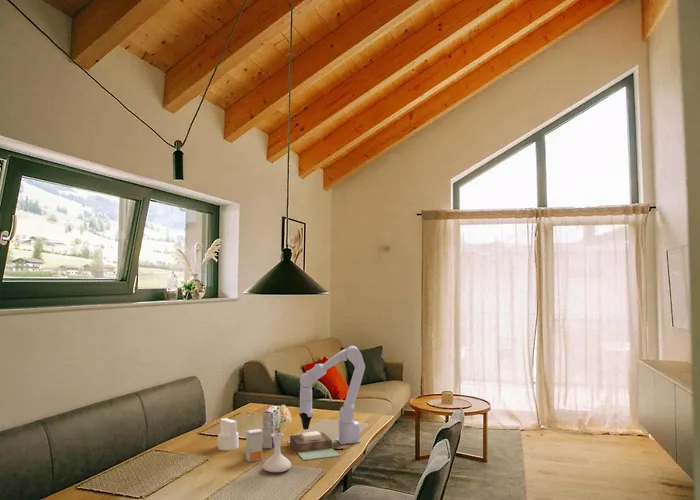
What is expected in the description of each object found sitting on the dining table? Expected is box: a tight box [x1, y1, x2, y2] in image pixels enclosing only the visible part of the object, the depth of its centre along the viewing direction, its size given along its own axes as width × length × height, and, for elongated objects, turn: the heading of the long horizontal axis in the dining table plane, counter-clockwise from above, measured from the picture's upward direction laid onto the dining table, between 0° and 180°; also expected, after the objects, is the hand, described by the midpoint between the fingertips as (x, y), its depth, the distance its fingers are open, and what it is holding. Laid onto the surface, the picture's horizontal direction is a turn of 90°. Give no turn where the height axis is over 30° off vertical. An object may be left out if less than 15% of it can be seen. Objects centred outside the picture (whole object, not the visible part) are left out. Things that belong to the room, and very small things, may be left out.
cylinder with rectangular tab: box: [217, 417, 239, 451], centre depth 240 cm, size 9×9×12 cm
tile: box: [300, 430, 321, 441], centre depth 239 cm, size 8×6×2 cm
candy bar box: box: [262, 405, 281, 450], centre depth 243 cm, size 11×5×16 cm, turn 168°
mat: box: [296, 447, 341, 462], centre depth 229 cm, size 16×10×1 cm, turn 110°
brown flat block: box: [289, 431, 333, 453], centre depth 240 cm, size 16×13×4 cm
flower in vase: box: [262, 404, 293, 473], centre depth 212 cm, size 13×11×25 cm
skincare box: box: [245, 428, 263, 463], centre depth 223 cm, size 6×4×12 cm
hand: (305, 429), depth 247 cm, fingers closed
